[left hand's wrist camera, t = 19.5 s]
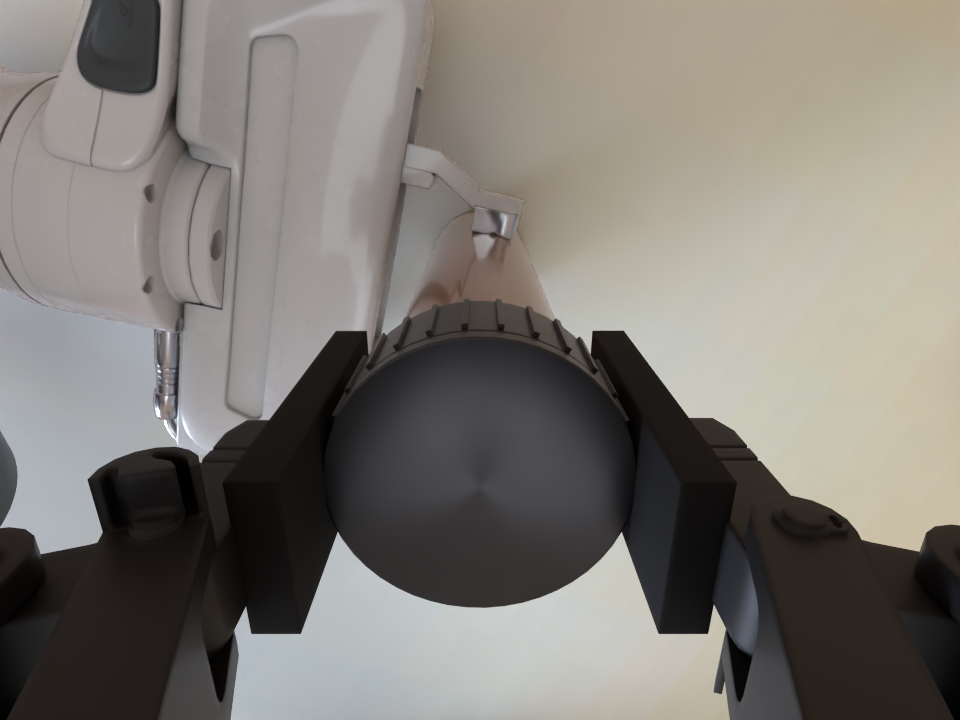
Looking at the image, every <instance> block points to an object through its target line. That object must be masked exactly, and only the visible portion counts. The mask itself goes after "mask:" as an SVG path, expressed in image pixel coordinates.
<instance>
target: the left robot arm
mask: <svg viewBox="0 0 960 720" xmlns="http://www.w3.org/2000/svg"><path fill="white" fill-rule="evenodd" d="M364 355H366V356H367V357H368V355H369V352H368V339H367V331H335V333H334V334H333V335H332V337H331V338H330V339H329V341H328V342H327V343H326V345H325V346H324V347H323V349H322V350H321V351H320V353H319V354H318V355H317V357H316V358H315V359H314V361H313V362H312V363H311V365H310V366H309V367H308V369H307V370H306V371H305V373H304V374H303V375H302V377H301V378H300V379H299V381H298V382H297V383H296V385H295V386H294V387H293V389H292V390H291V391H290V393H289V394H288V395H287V397H286V398H285V399H284V401H283V402H282V403H281V405H280V406H279V407H278V409H277V410H276V411H275V413H274V414H273V415H272V417H271V418H270V419H269V420H246V421H245V422H243V423H241V424H240V425H238V426H236V427H234V428H233V429H231V430H229V431H228V432H226V433H225V434H224V435H223V436H222V438H221V439H220V440H219V441H218V442H217V443H216V445H215V446H214V447H213V450H210V451H209V453H208V454H207V455H206V456H205V457H204V458H203V460H202V463H199V458H198V455H196V454H195V453H193V452H192V451H191V450H189V449H183V448H178V447H160V448H152V449H147V450H142V451H138V452H134V453H131V454H128V455H126V456H123V457H120V458H117V459H115V460H113V461H111V462H110V463H108V464H106V465H104V466H103V467H101V468H99V469H98V470H97V471H96V472H95V473H94V474H93V475H92V476H91V477H90V478H89V479H88V483H89V486H90V490H91V493H92V496H93V500H94V503H95V507H96V510H97V513H98V517H99V520H100V524H101V527H102V530H103V533H102V535H101V537H100V539H99V541H98V543H95V544H91V545H86V546H81V547H76V548H71V549H66V550H61V551H56V552H51V553H46V554H40V551H39V548H38V546H37V543H36V540H35V537H34V535H32V534H31V533H30V532H28V531H27V530H25V529H19V528H10V527H8V528H0V720H230V717H231V710H232V702H233V694H234V687H235V679H236V671H237V663H238V656H239V655H238V647H237V641H236V636H235V631H234V629H235V627H236V625H237V623H238V621H239V619H240V617H241V615H242V613H243V611H244V609H245V607H246V608H247V613H248V618H249V623H250V629H251V634H301V632H302V629H303V626H304V623H305V621H306V618H307V615H308V612H309V610H310V607H311V604H312V601H313V599H314V596H315V593H316V590H317V587H318V585H319V582H320V579H321V576H322V574H323V571H324V568H325V565H326V563H327V560H328V557H329V554H330V551H331V549H332V546H333V543H334V540H335V538H336V535H337V532H338V531H337V529H336V527H335V525H334V523H333V521H332V518H331V516H330V513H329V511H328V508H327V502H326V495H325V487H324V478H323V468H322V460H323V452H324V448H325V443H326V439H327V435H328V433H329V430H330V428H331V425H332V423H333V421H332V420H330V418H331V416H332V414H333V412H334V410H335V408H336V406H337V404H338V402H339V401H340V399H341V397H342V395H343V393H344V390H345V388H346V386H347V385H348V383H349V381H350V379H351V377H352V375H353V374H354V372H355V370H356V368H357V366H358V364H359V362H360V361H361V359H362V357H363V356H364ZM591 357H592V358H593V359H594V361H595V360H597V359H599V361H600V363H601V365H602V366H603V368H604V370H605V372H606V374H607V376H608V378H609V379H610V381H611V383H612V385H613V387H614V389H615V390H616V392H617V394H618V397H617V398H618V399H619V401H620V403H621V405H622V407H623V409H624V411H625V413H626V414H627V416H628V418H629V420H630V423H631V425H629V429H630V432H631V435H632V438H633V441H634V444H635V450H636V456H637V472H636V482H635V490H634V499H633V505H632V509H631V512H630V515H629V517H628V519H627V521H626V524H625V526H624V528H623V530H622V533H623V536H624V539H625V542H626V544H627V547H628V550H629V553H630V556H631V558H632V561H633V564H634V567H635V569H636V572H637V575H638V578H639V580H640V583H641V586H642V589H643V592H644V594H645V597H646V600H647V603H648V605H649V608H650V611H651V614H652V616H653V619H654V622H655V625H656V628H657V630H658V633H659V634H708V631H709V626H710V621H711V616H712V611H713V605H715V607H716V609H717V611H718V613H719V615H720V617H721V619H722V621H723V623H724V625H725V627H726V631H725V636H724V641H723V646H722V651H721V656H720V660H719V665H718V670H717V675H716V680H715V687H714V692H715V693H719V694H722V690H723V686H724V682H725V685H726V693H727V701H728V708H729V716H730V720H960V526H958V525H944V526H935V527H934V528H932V529H931V530H930V531H928V532H927V533H926V535H925V538H924V541H923V544H922V546H921V549H920V552H918V551H912V550H907V549H902V548H897V547H892V546H887V545H882V544H877V543H872V542H868V541H864V540H861V538H860V536H859V534H858V532H857V531H856V530H855V528H854V527H853V526H852V525H851V524H850V522H849V521H848V520H847V519H846V518H844V517H843V516H841V515H840V514H838V513H837V512H835V511H834V510H832V509H831V508H828V507H826V506H824V505H821V504H819V503H817V502H814V501H812V500H807V499H803V498H799V497H795V496H791V495H790V494H789V493H788V492H787V491H786V490H785V489H784V487H783V486H782V485H781V484H780V483H779V482H778V481H777V479H776V478H775V477H774V476H773V475H772V474H771V472H770V471H769V470H768V469H767V468H766V467H765V466H764V464H763V463H762V462H761V461H758V458H757V456H756V455H755V454H754V453H753V452H752V451H751V450H750V448H747V445H746V444H745V443H744V441H743V440H742V439H741V438H740V437H739V436H738V435H737V433H736V432H735V431H734V430H732V429H730V428H729V427H727V426H725V425H724V424H722V423H720V422H718V421H717V420H715V419H713V418H689V417H688V416H687V415H686V413H685V412H684V411H683V409H682V408H681V407H680V405H679V404H678V403H677V401H676V400H675V399H674V397H673V396H672V395H671V393H670V392H669V391H668V389H667V388H666V387H665V385H664V384H663V383H662V381H661V380H660V379H659V377H658V376H657V375H656V373H655V372H654V371H653V369H652V368H651V367H650V365H649V364H648V363H647V361H646V360H645V359H644V357H643V356H642V355H641V353H640V352H639V351H638V349H637V348H636V347H635V345H634V344H633V343H632V341H631V340H630V339H629V337H628V336H627V335H626V333H625V332H624V331H593V333H592V346H591Z"/></svg>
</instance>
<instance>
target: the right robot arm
mask: <svg viewBox="0 0 960 720" xmlns="http://www.w3.org/2000/svg"><path fill="white" fill-rule="evenodd" d="M434 27H435V11H434V7H433V4H432V2H431V0H84V2H83V6H82V9H81V12H80V16H79V19H78V22H77V25H76V29H75V32H74V35H73V38H72V41H71V44H70V47H69V50H68V53H67V55H66V58H65V61H64V64H63V66H62V69H61V71H60V72H40V73H19V72H15V71H12V70H9V69H6V68H4V67H3V66H1V65H0V287H1V288H3V289H5V290H7V291H9V292H11V293H13V294H15V295H17V296H19V297H21V298H23V299H26V300H28V301H30V302H33V303H36V304H39V305H43V306H47V307H51V308H55V309H60V310H65V311H70V312H75V313H79V314H84V315H89V316H94V317H99V318H104V319H109V320H113V321H120V322H124V323H129V324H134V325H138V326H143V327H148V328H153V329H155V330H154V360H155V368H156V380H157V381H156V388H155V389H154V395H153V405H154V411H155V414H156V417H157V418H159V419H161V420H164V423H165V426H166V428H167V430H168V432H169V433H170V434H171V436H172V437H173V438H174V439H175V440H176V442H177V444H178V445H179V446H180V447H182V448H183V449H189V450H191V451H192V452H195V453H200V454H205V455H207V454H208V453H209V451H210V450H213V447H214V446H215V445H216V443H217V442H218V441H219V440H220V439H221V438H222V436H223V435H224V434H225V433H226V432H228V431H229V430H231V429H233V428H234V427H236V426H238V425H240V424H241V423H243V422H245V421H246V420H269V419H270V418H271V417H272V415H273V414H274V413H275V411H276V410H277V409H278V407H279V406H280V405H281V403H282V402H283V401H284V399H285V398H286V397H287V395H288V394H289V393H290V391H291V390H292V389H293V387H294V386H295V385H296V383H297V382H298V381H299V379H300V378H301V377H302V375H303V374H304V373H305V371H306V370H307V369H308V367H309V366H310V365H311V363H312V362H313V361H314V359H315V358H316V357H317V355H318V354H319V353H320V351H321V350H322V349H323V347H324V346H325V345H326V343H327V342H328V341H329V339H330V338H331V337H332V335H333V334H334V333H335V331H367V339H368V352H369V354H370V353H371V352H372V350H373V349H374V347H375V346H376V344H377V342H378V340H379V338H380V336H381V333H382V328H383V322H384V316H385V310H386V305H387V299H388V293H389V287H390V281H391V276H392V270H393V264H394V258H395V253H396V247H397V241H398V235H399V229H400V224H401V218H402V212H403V206H404V201H405V195H406V189H407V184H409V185H413V186H418V187H422V188H426V189H429V188H430V187H432V186H433V185H434V184H435V183H436V179H437V176H439V177H440V178H441V179H442V180H443V181H444V182H445V183H446V184H447V185H448V186H449V187H450V188H451V189H453V190H454V191H455V192H456V193H457V194H458V195H459V196H460V197H461V198H462V199H463V200H464V201H466V202H467V203H468V204H469V205H470V206H471V207H472V208H473V209H474V213H473V218H472V223H471V231H475V232H479V233H483V234H490V233H492V232H495V234H496V235H497V236H498V237H501V238H505V239H515V235H516V231H517V228H518V224H519V220H520V216H521V212H522V208H523V204H524V202H523V200H522V199H519V198H516V197H513V196H508V195H504V194H500V193H496V192H492V191H487V190H483V189H479V185H478V184H477V183H476V182H475V181H474V180H473V179H472V178H471V177H470V176H469V175H468V174H467V173H466V172H465V171H464V170H463V169H462V168H461V167H460V166H459V165H457V164H456V163H455V162H454V161H453V160H452V159H451V158H450V157H449V156H448V155H447V154H446V153H445V152H444V151H443V150H440V149H436V148H431V147H427V146H423V145H419V144H415V137H416V131H417V125H418V120H419V114H420V108H421V102H422V96H423V91H424V85H425V79H426V73H427V68H428V62H429V56H430V50H431V44H432V38H433V33H434ZM176 418H177V426H176V424H175V421H174V419H176ZM16 487H17V466H16V461H15V458H14V455H13V453H12V451H11V449H10V447H9V445H8V444H7V442H6V440H5V439H4V437H3V435H2V433H1V432H0V526H1V525H2V523H3V521H4V520H5V518H6V516H7V514H8V512H9V509H10V507H11V504H12V502H13V499H14V496H15V492H16Z"/></svg>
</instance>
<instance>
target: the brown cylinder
mask: <svg viewBox="0 0 960 720" xmlns="http://www.w3.org/2000/svg"><path fill="white" fill-rule="evenodd" d="M473 213H474V212H469V213H465V214H463V215H460V216H458V217H456V218H455V219H454V220H452V221H451V222H450V223H449V224H448V225H447V226H446V227H445V228H444V229H443V231H442V232H441V234H440V235H439V238H438V240H437V242H436V245H435V247H434V249H433V252H432V254H431V256H430V259H429V261H428V264H427V266H426V268H425V271H424V273H423V275H422V278H421V280H420V283H419V285H418V287H417V290H416V292H415V295H414V297H413V299H412V302H411V304H410V306H409V309H408V311H407V314H406V316H405V317H407V316H409V317H410V318H412V317H414V316H416V315H418V314H420V313H423V312H425V311H428V310H431V309H432V306H433V305H435V304H438V306H443V305H448V304H452V303H457V302H463V301H464V299H465V298H469V301H494V302H495V301H496V299H501V301H502V303H507V304H513V305H516V306H520V307H523V308H526V307H527V305H528V306H530V307H532V309H533V311H534V312H537V313H539V314H541V315H543V316H546V317H547V318H549V319H551V320H552V321H554V320H555V317H554V315H553V312H552V310H551V308H550V305H549V303H548V300H547V298H546V296H545V293H544V291H543V289H542V286H541V284H540V281H539V279H538V277H537V274H536V272H535V270H534V267H533V265H532V262H531V260H530V258H529V255H528V253H527V251H526V248H525V246H524V243H523V241H522V239H521V237H520V235H519V233H518V231H516V235H515V239H505V238H501V237H498V236H497V235H496V234H495V232H492V233H490V234H483V233H479V232H475V231H471V223H472V218H473Z"/></svg>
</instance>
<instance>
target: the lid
mask: <svg viewBox="0 0 960 720" xmlns="http://www.w3.org/2000/svg"><path fill="white" fill-rule="evenodd" d="M617 397H618V394H617V392H616V390H615V389H614V387H613V385H612V383H611V381H610V379H609V378H608V376H607V374H606V372H605V370H604V368H603V366H602V365H601V363H600V361H599V359H597V360H595V361H594V359H593V358H592V357H591V355H590V353H589V351H588V349H587V347H586V345H585V343H584V341H583V339H582V338H581V337H578V338H577V339H576V338H575V337H574V336H573V335H572V334H571V333H569V332H568V331H567V330H566V329H564V328H563V327H562V325H561V323H560V321H559V320H558V319H556V318H555V320H554V321H552V320H551V319H549V318H547V317H546V316H543V315H541V314H539V313H537V312H534V311H533V309H532V307H530V306H528V305H527V307H526V308H523V307H520V306H516V305H513V304H507V303H502V301H501V299H496V301H495V302H494V301H469V298H465V299H464V301H463V302H457V303H452V304H448V305H443V306H438V304H435V305H433V306H432V309H431V310H428V311H425V312H423V313H420V314H418V315H416V316H414V317H412V318H410V317H409V316H407V317H405V318H404V320H403V322H402V324H401V325H399V326H398V327H396V328H395V329H394V330H392V331H391V332H390V333H389V334H388V335H385V334H384V333H383V334H382V335H381V336H380V338H379V340H378V342H377V344H376V346H375V347H374V349H373V350H372V352H371V353H370V354H369V355H368V357H367V356H366V355H364V356H363V357H362V359H361V361H360V362H359V364H358V366H357V368H356V370H355V372H354V374H353V375H352V377H351V379H350V381H349V383H348V385H347V386H346V388H345V390H344V393H343V395H342V397H341V399H340V401H339V402H338V404H337V406H336V408H335V410H334V412H333V414H332V416H331V418H330V420H332V421H333V423H332V425H331V428H330V430H329V433H328V435H327V439H326V443H325V448H324V452H323V460H322V468H323V478H324V487H325V495H326V502H327V508H328V511H329V513H330V516H331V518H332V521H333V523H334V525H335V527H336V529H337V531H338V532H339V534H340V536H341V538H342V539H343V541H344V542H345V543H346V545H347V546H348V547H349V548H350V550H351V551H352V552H353V554H354V555H355V556H356V557H357V558H358V559H359V560H360V561H361V562H362V563H363V564H364V565H365V566H366V567H368V568H369V569H370V570H371V571H373V572H374V573H375V574H376V575H378V576H379V577H380V578H382V579H384V580H385V581H387V582H388V583H390V584H392V585H393V586H395V587H397V588H399V589H401V590H403V591H405V592H408V593H410V594H412V595H414V596H417V597H420V598H423V599H426V600H429V601H433V602H437V603H442V604H446V605H453V606H461V607H482V608H486V607H498V606H507V605H512V604H518V603H523V602H526V601H530V600H533V599H536V598H540V597H542V596H545V595H547V594H549V593H552V592H554V591H557V590H559V589H560V588H562V587H564V586H566V585H568V584H569V583H571V582H573V581H574V580H576V579H577V578H579V577H580V576H581V575H583V574H584V573H586V572H587V571H588V570H589V569H591V568H592V567H593V566H594V565H595V564H596V563H597V562H598V561H599V560H600V559H601V558H602V557H603V556H604V555H605V554H606V553H607V551H608V550H609V549H610V548H611V547H612V546H613V544H614V542H615V541H616V539H617V538H618V536H619V535H620V533H621V532H622V530H623V528H624V526H625V524H626V521H627V519H628V517H629V515H630V512H631V509H632V505H633V499H634V490H635V482H636V472H637V456H636V450H635V444H634V441H633V438H632V435H631V432H630V429H629V425H631V423H630V420H629V418H628V416H627V414H626V413H625V411H624V409H623V407H622V405H621V403H620V401H619V399H618V398H617Z"/></svg>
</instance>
